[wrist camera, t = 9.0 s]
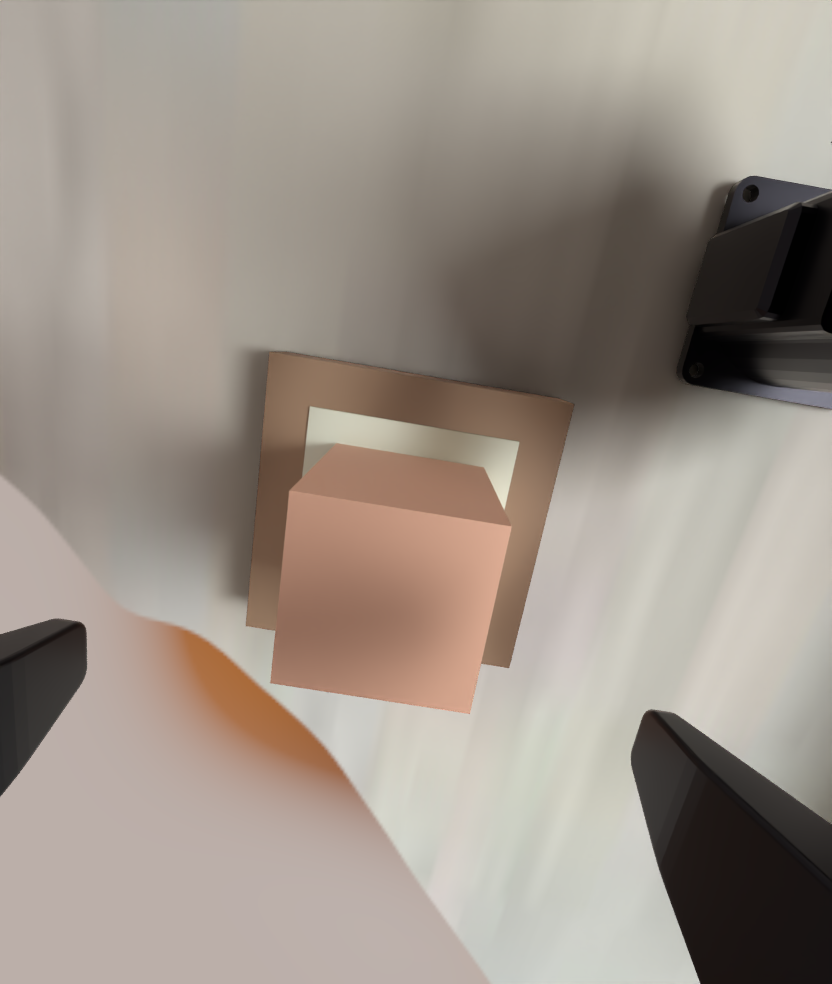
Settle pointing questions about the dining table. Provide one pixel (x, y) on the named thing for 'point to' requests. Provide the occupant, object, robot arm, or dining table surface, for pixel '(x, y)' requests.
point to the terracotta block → (389, 578)
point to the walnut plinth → (412, 431)
